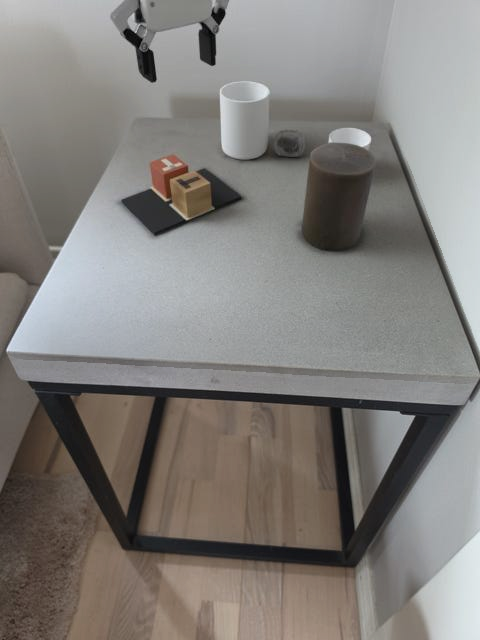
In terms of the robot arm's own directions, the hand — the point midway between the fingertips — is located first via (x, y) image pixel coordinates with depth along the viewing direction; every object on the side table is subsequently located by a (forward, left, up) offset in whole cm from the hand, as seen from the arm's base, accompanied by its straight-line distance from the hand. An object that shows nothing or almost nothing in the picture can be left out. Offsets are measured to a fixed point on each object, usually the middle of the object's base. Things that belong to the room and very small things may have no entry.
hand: (179, 70), depth 68 cm
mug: (+21, +12, -24) cm, 34 cm away
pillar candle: (+15, -20, -24) cm, 34 cm away
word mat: (0, +4, -23) cm, 24 cm away
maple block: (0, 0, -23) cm, 23 cm away
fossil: (+26, +4, -24) cm, 35 cm away
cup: (+30, -8, -24) cm, 39 cm away
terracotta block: (0, +7, -23) cm, 24 cm away
